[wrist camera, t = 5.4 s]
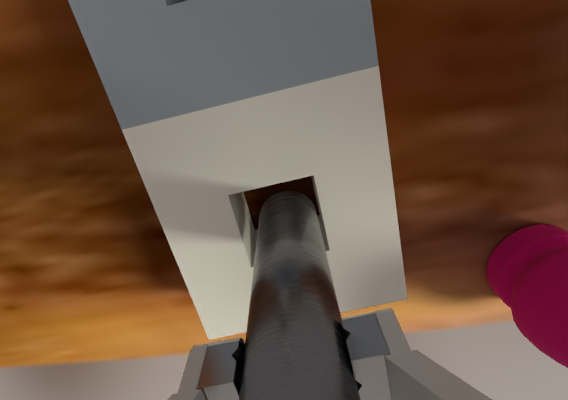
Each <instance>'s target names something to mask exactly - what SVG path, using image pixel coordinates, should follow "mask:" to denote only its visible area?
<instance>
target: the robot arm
mask: <svg viewBox="0 0 568 400" xmlns="http://www.w3.org/2000/svg"><path fill="white" fill-rule="evenodd" d="M341 321H342V326H343V331H344V335H345V340H346V344H347V347H348V352H349V357H350V361H351V366H352V370H353V374H354V378H355V380H356V382H357V387H358V391H359V395H360V399H361V400H492V399H490V398H489V397H487V396H485V395H484V394H483V393H481V392H479V391H478V390H476V389H475V388H473V387H472V386H470V385H469V384H467V383H466V382H464V381H463V380H461V379H460V378H458V377H457V376H455V375H454V374H452V373H451V372H449V371H448V370H446V369H445V368H443V367H441V366H440V365H439V364H437V363H435V362H434V361H432V360H431V359H429V358H428V357H426V356H425V355H423V354H422V353H420V352H419V351H417V350H413V351H411V349H410V347H409V345H408V343H407V341H406V338H405V336H404V334H403V331H402V329H401V327H400V325H399V322H398V320H397V318H396V316H395V314H394V311H393V310H392V309H391V308H389V309H384V310H379V311H375V312H371V313H366V314H361V315H356V316H351V317H346V318H341ZM244 350H245V343H244V340H243V339H242V338H236V339H230V340H224V341H218V342H212V343H209V344H202V345H196V346H193V347H192V349H191V350H190V353H189V356H188V360H187V363H186V366H185V370H184V373H183V377H182V380H181V384H180V387H179V390H178V393H177V394H173V395H172V396H171V397H170V398H169V399H168V400H239V395H240V386H241V377H242V368H243V359H244Z"/></svg>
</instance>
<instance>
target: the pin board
mask: <svg viewBox="0 0 568 400" xmlns="http://www.w3.org/2000/svg"><path fill="white" fill-rule="evenodd" d="M68 2H69V4H70V6H71V9H72V11H73V14H74V16H75V18H76V21H77V23H78V26H79V28H80V31H81V33H82V35H83V38H84V40H85V43H86V45H87V47H88V50H89V52H90V55H91V57H92V59H93V62H94V64H95V67H96V69H97V71H98V74H99V76H100V79H101V81H102V84H103V86H104V88H105V91H106V93H107V96H108V98H109V100H110V103H111V105H112V108H113V110H114V112H115V115H116V117H117V120H118V122H119V124H120V127H121V129H122V132H123V134H124V136H125V139H126V141H127V144H128V146H129V149H130V151H131V153H132V156H133V158H134V161H135V163H136V165H137V168H138V170H139V173H140V175H141V177H142V180H143V182H144V185H145V187H146V189H147V192H148V194H149V197H150V199H151V202H152V204H153V206H154V209H155V211H156V214H157V216H158V218H159V221H160V223H161V226H162V228H163V230H164V233H165V235H166V238H167V240H168V242H169V245H170V247H171V250H172V252H173V255H174V257H175V259H176V262H177V264H178V267H179V269H180V271H181V274H182V276H183V279H184V281H185V283H186V286H187V288H188V291H189V293H190V295H191V298H192V300H193V303H194V305H195V307H196V310H197V312H198V315H199V317H200V320H201V322H202V324H203V327H204V329H205V332H206V334H207V336H208V339H209V340H210V339H215V338H220V337H225V336H230V335H235V334H239V333H244V332H247V323H248V314H249V305H250V296H251V288H252V279H253V270H254V261H255V252H256V243H257V234H258V229H256V230H255V228H254V225H253V222H252V218H251V215H250V212H249V208H248V205H247V202H246V198H245V195H244V191H248V190H253V189H257V188H261V187H265V186H270V185H274V184H278V183H283V182H287V181H291V180H296V179H300V178H304V177H309V176H311V177H312V182H313V187H314V191H315V196H316V200H317V205H318V210H319V214H320V215H318V216H317V217H318V221H319V225H320V229H321V234H322V238H323V242H324V246H325V251H326V255H327V259H328V263H329V268H330V272H331V276H332V280H333V285H334V289H335V293H336V297H337V302H338V306H339V310H340V313H341V312H346V311H351V310H356V309H361V308H365V307H370V306H375V305H380V304H385V303H390V302H395V301H399V300H404V299H407V291H406V283H405V275H404V267H403V259H402V250H401V242H400V234H399V226H398V218H397V210H396V202H395V194H394V186H393V178H392V170H391V162H390V153H389V145H388V137H387V129H386V121H385V113H384V105H383V97H382V89H381V81H380V73H379V64H378V56H377V48H376V40H375V32H374V24H373V16H372V8H371V0H187V1H186V0H68Z"/></svg>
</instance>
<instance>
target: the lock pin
mask: <svg viewBox="0 0 568 400" xmlns="http://www.w3.org/2000/svg"><path fill="white" fill-rule="evenodd" d="M239 400H361V399H360V395H359V391H358V387H357V382H356V380H355V378H354V374H353V370H352V366H351V361H350V357H349V352H348V347H347V344H346V340H345V335H344V331H343V326H342V321H341V314H340V310H339V306H338V302H337V297H336V293H335V289H334V285H333V280H332V276H331V272H330V268H329V263H328V259H327V255H326V251H325V246H324V242H323V238H322V234H321V229H320V225H319V221H318V217H317V212H316V209H315V206H314V204H313V203H312V201H311V200H310V199H309V198H308V197H306V196H305V195H303V194H301V193H298V192H295V191H282V192H278V193H276V194H274V195H272V196H271V197H269V198H268V199H267V200H266V201H265V202H264V204H263V206H262V208H261V210H260V216H259V225H258V234H257V243H256V252H255V261H254V270H253V279H252V288H251V296H250V305H249V314H248V323H247V332H246V341H245V350H244V359H243V368H242V377H241V386H240V395H239Z"/></svg>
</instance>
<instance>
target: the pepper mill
mask: <svg viewBox="0 0 568 400" xmlns="http://www.w3.org/2000/svg"><path fill="white" fill-rule="evenodd" d="M486 274H487V280H488V283H489V285H490V287H491V288H492V290H493V291H494V292H495V293H496V294H497V295H498V296H499V297H500V298H501V299H502V300H503V302H504V303H505V304H506V305H507V306H509V307H510V308H511V310H512V315H513V319H514V321H515V323H516V325H517V327H518V329H519V330H520V331H521V333H522V334H523V335H524V336H525V337H526V338H527V339H528V340H529V341H530V342H532V344H533V345H535V346H536V347H537V348H538V349H539V350H540V351H542V352H543V353H545V354H546V355H548V356H549V357H551V358H552V359H554V360H555V361H557V362H558V363H560V364H562V365H564V366H565V367H567V368H568V232H567V231H566V230H564V229H562V228H560V227H557V226H553V225H545V224H539V225H534V226H529V227H525V228H522V229H520V230H518V231H516V232H514V233H512V234H511V235H509V236H508V237H506V238H505V239H504V240H503V241H502V242H501V243H500V244H499V245H498V246H497V247H496V248H495V249H494V251H493V253H492V254H491V256H490V258H489V261H488V265H487V269H486Z"/></svg>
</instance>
